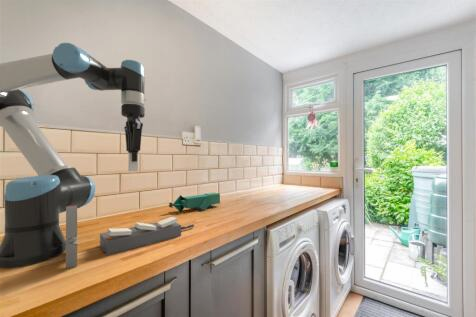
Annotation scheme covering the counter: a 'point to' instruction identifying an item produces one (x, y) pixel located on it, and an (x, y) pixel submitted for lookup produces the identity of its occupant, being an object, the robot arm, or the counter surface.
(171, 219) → the rocker right
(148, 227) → the rocker mid
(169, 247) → the counter surface
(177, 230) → the strip
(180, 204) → the toy
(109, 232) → the rocker left
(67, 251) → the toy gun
